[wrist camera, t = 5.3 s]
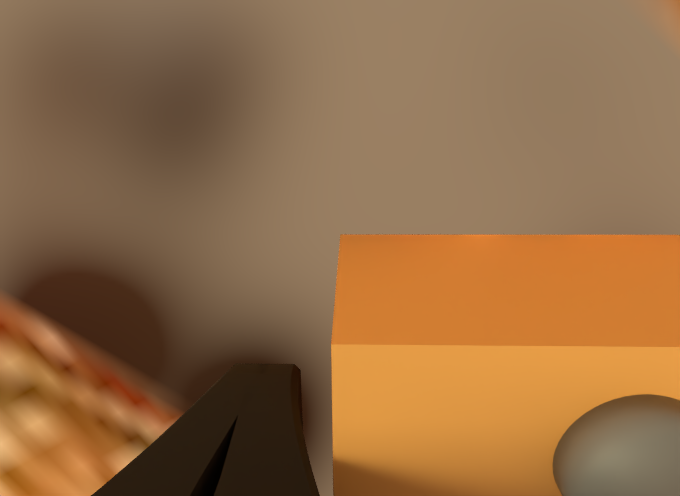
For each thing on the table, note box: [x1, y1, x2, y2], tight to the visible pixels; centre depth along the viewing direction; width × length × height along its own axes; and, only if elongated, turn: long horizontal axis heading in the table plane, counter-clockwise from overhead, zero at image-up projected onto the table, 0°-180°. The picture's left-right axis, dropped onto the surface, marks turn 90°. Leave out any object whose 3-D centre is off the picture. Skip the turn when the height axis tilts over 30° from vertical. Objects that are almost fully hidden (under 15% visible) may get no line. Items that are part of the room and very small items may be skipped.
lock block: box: [331, 235, 680, 496], centre depth 7 cm, size 6×7×5 cm
